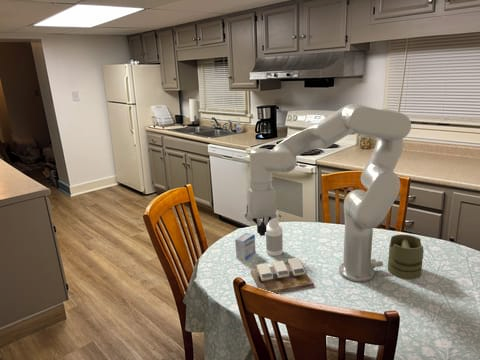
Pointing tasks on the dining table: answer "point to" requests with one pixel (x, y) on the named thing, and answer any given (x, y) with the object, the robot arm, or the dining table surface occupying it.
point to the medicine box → (245, 246)
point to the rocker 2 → (296, 266)
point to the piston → (405, 256)
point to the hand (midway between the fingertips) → (261, 234)
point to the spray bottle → (274, 237)
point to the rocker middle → (280, 269)
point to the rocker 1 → (264, 272)
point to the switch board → (282, 281)
